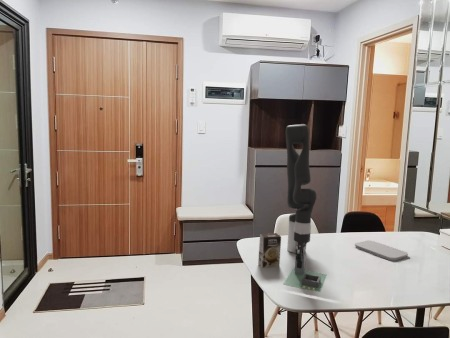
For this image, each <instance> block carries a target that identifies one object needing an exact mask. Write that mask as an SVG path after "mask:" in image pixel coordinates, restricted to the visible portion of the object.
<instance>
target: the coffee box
mask: <svg viewBox="0 0 450 338" xmlns="http://www.w3.org/2000/svg"><path fill="white" fill-rule="evenodd" d="M281 242H282V236H281V235H280V234H278V233H276V232H275V233H274V232H272V233H260V234H259V245H258V246H259V248H258V259H257V261H258V263H257V265H258V266H261V267H262V268H271V267H280V264H281V263H280V261H281V260H280V259H281V244H282V243H281Z"/></svg>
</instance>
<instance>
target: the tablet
mask: <svg viewBox="0 0 450 338" xmlns="http://www.w3.org/2000/svg"><path fill="white" fill-rule="evenodd" d="M354 246H355V248H356V249H359V250H361V251H364V252H366V253H368V254H371V255H374V256H377V257H378V258H379V257H380V258H382V259H385V260H388V261H393V262H394V261H397V260H401V259H405V258H407V256H409V253H408V252H407V251H404V250H401V249H399V248H397V247H396V248H395V247H393V246H389V245H386V244H383V243H380V242H377V241H375V240H363V241H360V242H358V241H357V242H355V243H354Z"/></svg>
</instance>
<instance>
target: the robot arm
mask: <svg viewBox="0 0 450 338" xmlns="http://www.w3.org/2000/svg"><path fill="white" fill-rule="evenodd" d="M285 142H286V154H287V155H286V157H287V158H286V159H287V160H286V161H287V162H286V164H287V165H286V169H287V171H286V172H287V173H286V174H287V201H286V202H287V207H288V208H290V209H293V210H294V209H296V211H295V213H291V214H290V215H289V217H288V231H287V232H288V234H287V248H286V249H287V250H286V251H288V252H289V253H294V254H295V259H296V260H297V268H302V258H303V256H304V251H305V252H306V253H307V244H308V243H310V242H311V231H312V230H311V229H312V225H311V221H312V213H313V209H314V205H315V204H316V201H317V192H316V191H315V190H314V188H302V186H305V185H306V186H307V185H309V184H311V172H310V171H311V170H310V131H309V127H308V125H307V124H304V123H301V124H292V125H291V124H290V125H287V126H286V128H285ZM296 144H297V145H298V144H302V148H301V151H300V154H299V153H298V152H297V150H296V149H295V147H294V145H296ZM298 257H300V258H298Z"/></svg>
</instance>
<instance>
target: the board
mask: <svg viewBox="0 0 450 338" xmlns="http://www.w3.org/2000/svg"><path fill="white" fill-rule="evenodd" d="M327 276H328V275H327V274H326V273H321V272H315V271H311V270H306V269H305V272H304V274H303V275H301V274H296V273H295V267H293V268H292V269H291V270H290V273H289V275H288V276H286V278H285V280H284V282H283V283H282V285H284V286H289V287H293V288H299V289H304V290H307V291H312V292H317V293H321V292H322V289H323V286H324V283H325V280H326V278H327Z"/></svg>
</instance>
